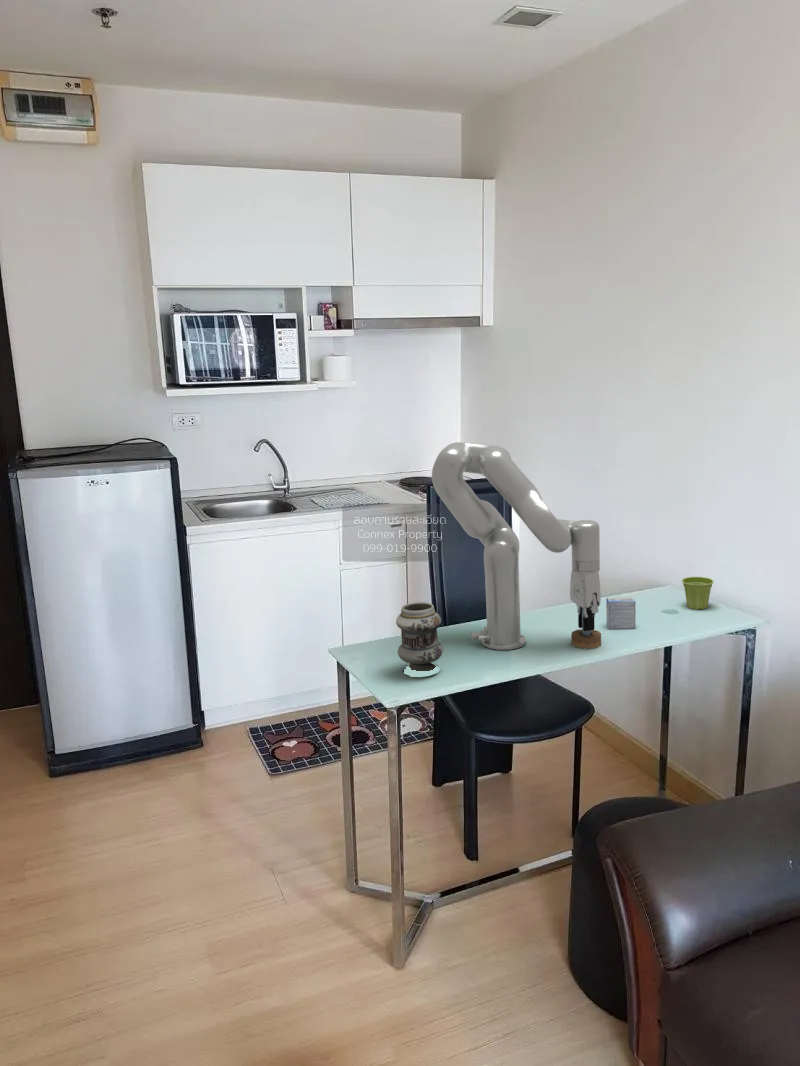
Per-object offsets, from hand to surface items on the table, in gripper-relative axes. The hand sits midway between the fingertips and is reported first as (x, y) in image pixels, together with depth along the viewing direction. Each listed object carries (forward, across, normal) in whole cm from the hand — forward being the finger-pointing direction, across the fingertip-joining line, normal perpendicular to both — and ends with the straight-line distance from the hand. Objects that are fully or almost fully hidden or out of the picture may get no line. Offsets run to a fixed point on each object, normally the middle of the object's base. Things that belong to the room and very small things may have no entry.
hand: (586, 628), depth 228 cm
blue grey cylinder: (+4, 0, 0) cm, 4 cm away
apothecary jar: (+5, +2, -49) cm, 49 cm away
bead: (+5, 0, 0) cm, 5 cm away
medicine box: (+5, -10, +16) cm, 19 cm away
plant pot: (+5, -18, +47) cm, 50 cm away
